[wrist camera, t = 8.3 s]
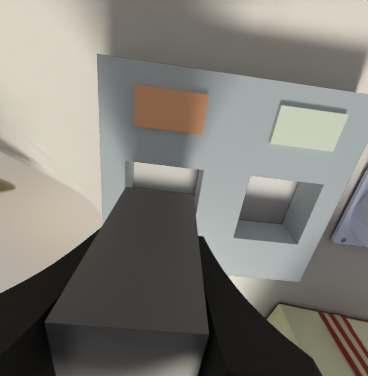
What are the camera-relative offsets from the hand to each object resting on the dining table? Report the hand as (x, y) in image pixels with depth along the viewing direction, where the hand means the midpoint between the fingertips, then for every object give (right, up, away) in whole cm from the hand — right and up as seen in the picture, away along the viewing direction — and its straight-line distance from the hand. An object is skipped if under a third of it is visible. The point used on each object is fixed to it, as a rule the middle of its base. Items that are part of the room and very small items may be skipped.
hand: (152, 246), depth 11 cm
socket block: (+5, +4, +7) cm, 9 cm away
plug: (0, +1, +2) cm, 2 cm away
